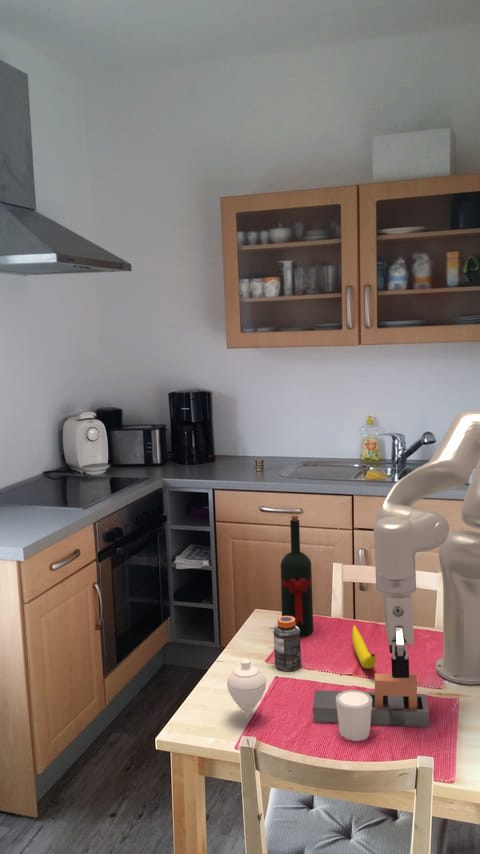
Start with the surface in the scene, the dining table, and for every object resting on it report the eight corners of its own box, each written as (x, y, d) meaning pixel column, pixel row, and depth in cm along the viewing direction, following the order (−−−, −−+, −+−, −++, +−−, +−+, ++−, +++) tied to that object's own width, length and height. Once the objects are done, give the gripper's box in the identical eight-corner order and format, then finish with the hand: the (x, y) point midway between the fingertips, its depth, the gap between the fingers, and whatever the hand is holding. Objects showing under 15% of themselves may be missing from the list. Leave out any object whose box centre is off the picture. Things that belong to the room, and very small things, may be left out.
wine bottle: (283, 642, 184) (280, 522, 179) (281, 625, 194) (277, 512, 190) (316, 641, 184) (313, 521, 179) (311, 624, 194) (308, 510, 190)
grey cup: (332, 724, 146) (332, 690, 145) (367, 721, 147) (367, 688, 146) (340, 744, 139) (339, 709, 138) (377, 741, 140) (376, 706, 139)
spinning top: (254, 731, 144) (252, 672, 143) (221, 721, 149) (218, 664, 147) (274, 713, 151) (272, 656, 149) (241, 704, 155) (239, 649, 153)
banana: (360, 644, 181) (360, 619, 180) (380, 681, 162) (380, 654, 161) (348, 645, 181) (348, 620, 180) (367, 682, 162) (366, 654, 161)
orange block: (416, 713, 149) (416, 674, 148) (417, 721, 146) (417, 682, 145) (375, 711, 150) (374, 673, 149) (375, 719, 147) (374, 680, 146)
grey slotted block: (425, 708, 151) (425, 694, 150) (429, 727, 144) (429, 712, 143) (315, 703, 154) (314, 690, 154) (313, 721, 147) (313, 707, 147)
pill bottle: (301, 660, 174) (300, 613, 172) (300, 672, 168) (299, 623, 166) (275, 660, 175) (274, 613, 173) (274, 671, 169) (272, 623, 167)
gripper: (419, 600, 136) (422, 687, 139) (412, 565, 152) (415, 644, 155) (377, 600, 137) (381, 687, 140) (374, 565, 154) (378, 644, 157)
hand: (399, 664), depth 148 cm, fingers open, 9 cm apart
